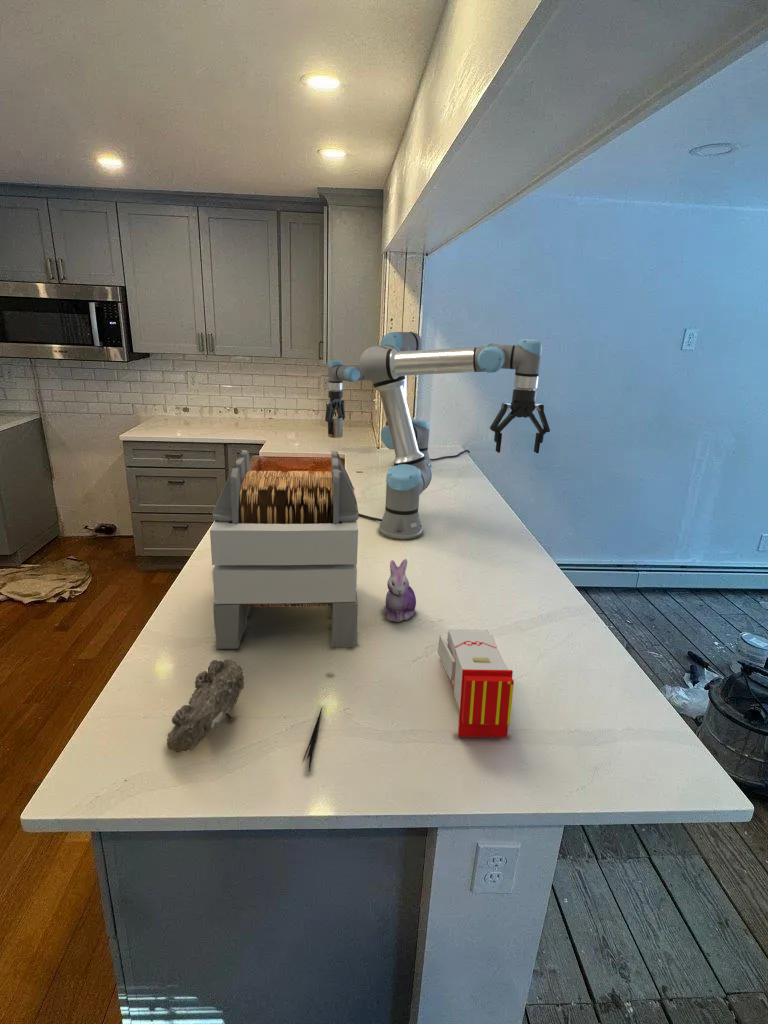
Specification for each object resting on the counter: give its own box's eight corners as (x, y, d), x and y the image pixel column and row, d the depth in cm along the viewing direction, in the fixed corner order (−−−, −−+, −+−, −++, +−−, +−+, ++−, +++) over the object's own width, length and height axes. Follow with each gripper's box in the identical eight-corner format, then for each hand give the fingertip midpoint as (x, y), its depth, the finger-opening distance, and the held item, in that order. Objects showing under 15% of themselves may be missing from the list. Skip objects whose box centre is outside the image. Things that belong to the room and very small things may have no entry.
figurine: (392, 627, 141) (395, 572, 136) (374, 608, 149) (376, 556, 144) (425, 619, 145) (429, 566, 140) (405, 601, 154) (408, 550, 149)
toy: (488, 613, 130) (523, 677, 101) (484, 667, 133) (517, 744, 104) (435, 612, 130) (455, 676, 101) (432, 666, 133) (451, 743, 103)
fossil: (192, 660, 117) (244, 628, 112) (224, 691, 120) (276, 661, 115) (142, 746, 98) (202, 712, 93) (182, 779, 101) (242, 748, 96)
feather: (331, 679, 122) (336, 673, 122) (307, 777, 96) (313, 769, 95) (324, 675, 122) (329, 669, 121) (298, 772, 95) (304, 764, 95)
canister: (343, 437, 307) (343, 418, 303) (328, 437, 305) (328, 418, 302) (341, 434, 314) (341, 416, 311) (327, 434, 313) (327, 416, 309)
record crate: (234, 582, 160) (226, 440, 146) (350, 581, 163) (353, 443, 150) (213, 651, 128) (201, 478, 114) (357, 647, 132) (363, 480, 118)
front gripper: (556, 388, 191) (547, 449, 198) (484, 386, 188) (478, 448, 195) (565, 391, 184) (556, 455, 191) (491, 389, 181) (484, 454, 188)
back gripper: (340, 388, 312) (340, 429, 319) (318, 391, 295) (318, 434, 302) (352, 389, 308) (351, 430, 316) (329, 393, 291) (329, 436, 299)
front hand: (517, 452), depth 193 cm, fingers open, 13 cm apart
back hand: (335, 432), depth 309 cm, fingers closed on canister, 8 cm apart
